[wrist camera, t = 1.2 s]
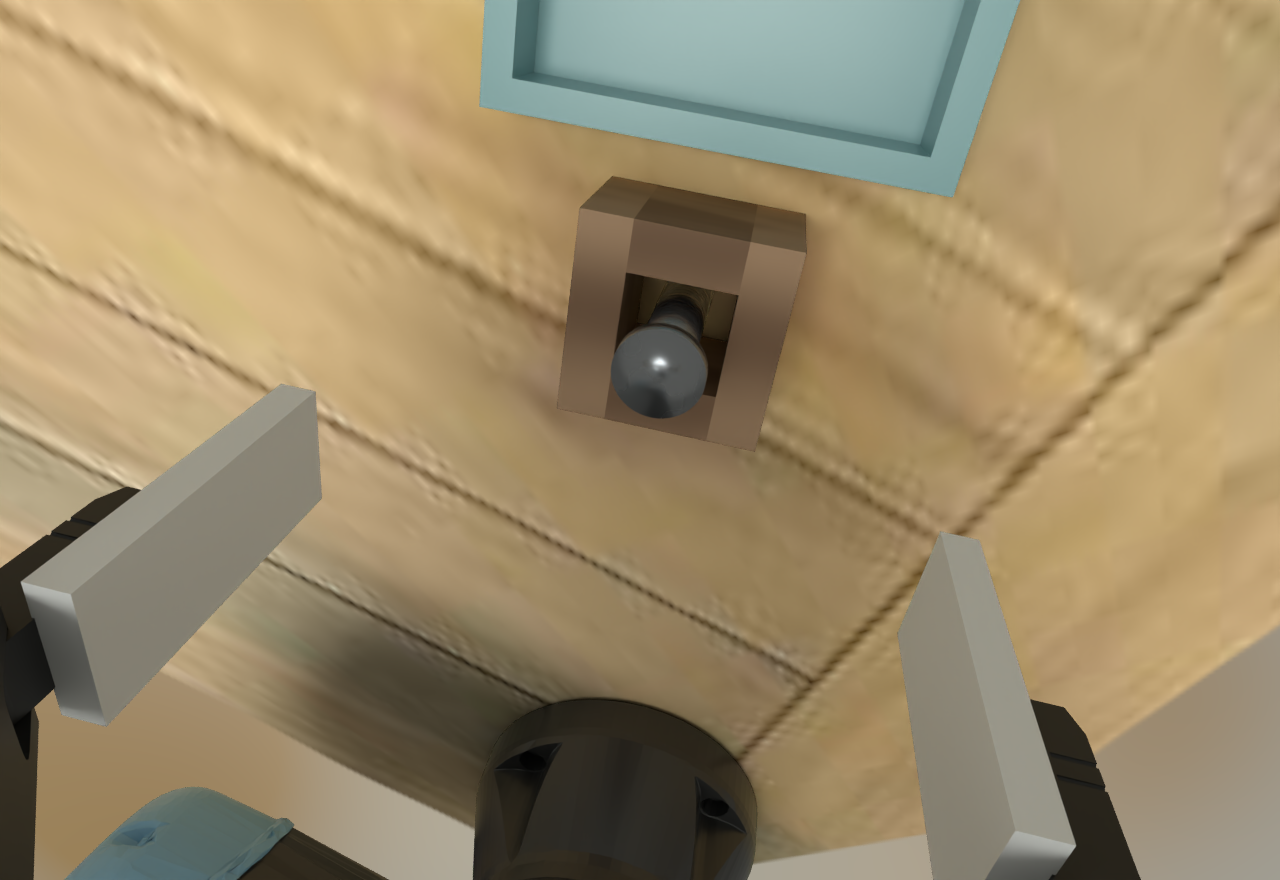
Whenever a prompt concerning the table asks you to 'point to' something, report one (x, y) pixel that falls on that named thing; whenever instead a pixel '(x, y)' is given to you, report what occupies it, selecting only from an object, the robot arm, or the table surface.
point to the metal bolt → (665, 355)
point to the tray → (760, 77)
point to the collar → (693, 255)
